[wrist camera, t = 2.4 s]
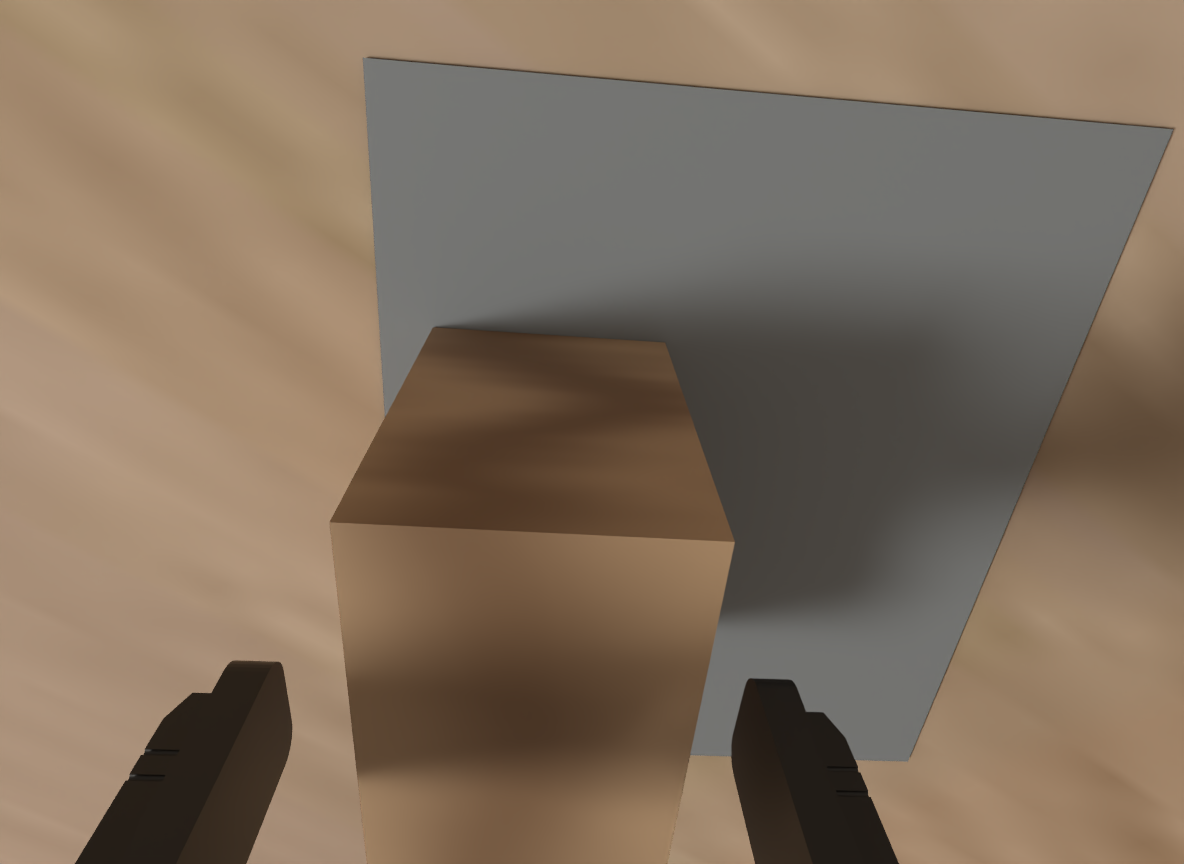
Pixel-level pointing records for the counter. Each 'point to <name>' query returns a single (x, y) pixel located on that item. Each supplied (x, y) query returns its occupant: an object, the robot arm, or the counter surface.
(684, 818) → the counter surface
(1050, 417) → the grey mat
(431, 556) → the walnut block
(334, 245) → the counter surface
